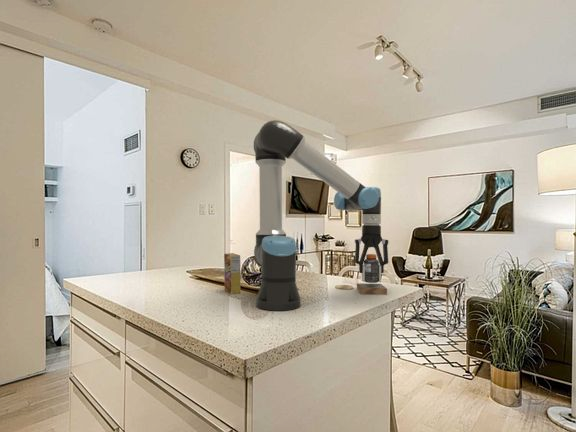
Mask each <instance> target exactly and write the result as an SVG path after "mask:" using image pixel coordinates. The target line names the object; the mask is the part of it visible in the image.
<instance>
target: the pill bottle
mask: <svg viewBox="0 0 576 432" xmlns="http://www.w3.org/2000/svg"><path fill="white" fill-rule="evenodd" d="M363 265H365V282H364V283H366V284H378V283H380V282H379V265H380V263H379V260H378V258H377V254H375V253H374V254H373V253H369V254H368V253H366V256H365V260H364V263H363Z"/></svg>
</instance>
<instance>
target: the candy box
mask: <svg viewBox="0 0 576 432" xmlns="http://www.w3.org/2000/svg"><path fill="white" fill-rule="evenodd" d="M223 257H224V258H223V259H224V260H223V261H224V266H223V267H224V290H225V291H226V292H228V293H229V294H230V295H235V294H237V295H238V294H241V255H240V254H236V253H233V252H232V253H230V252H228V253H224V255H223Z"/></svg>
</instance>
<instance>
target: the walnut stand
mask: <svg viewBox="0 0 576 432" xmlns="http://www.w3.org/2000/svg"><path fill="white" fill-rule="evenodd" d="M356 290H357V291H358V292H359V293H360V295H377V296H378V295H381V296H384V295H385V296H387V295H388V288H387V287H386V286H385V285H383V284H381V283H367V282H362V283H356Z"/></svg>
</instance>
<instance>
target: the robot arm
mask: <svg viewBox="0 0 576 432" xmlns="http://www.w3.org/2000/svg"><path fill="white" fill-rule="evenodd" d="M253 150H254V154H255V155H254V156H255V157H254V158H255V159H254V160H255V161H254V162H255V164H256V165H257V166H258V168H259V171H258V172H259V174H258V175H259V229H258V231H256V233H255V245H254V250H253V254H254V258H255V261H256V262H257V263H258V264H259V265H260V266H261V283H260V286H259V290H258V293H257V296H256V301H255V302H256V303H255V305H256V307H257V308H259V309H262V310H267V311H275V312H276V311H277V312H278V311H279V312H281V311H290V310H291V311H292V310H295V309H299V308H300V307H301V305H302V304H301V296H300V291H299V289H298V287H297V280H296V279H297V278H296V277H297V272H296V271H297V270H296V269H297V268H296V267H297V241H296V240H295V238H294V237H291V236H287V232H286V231H284V229H283V173H282V172H283V166H285V164H286V162H287V161H286V159H290V160H291V159H292V160H294V161H295V162H296V163H298V164H299V165H300V166H302V167H303V168H304V169H306V170H307V171H309V172H311V174H313V175H314V176H315V177H316V178H318V179H319V180H321V181H322V182H324V183H325V184H326V185H327V186H329V187H331V189H332V190H334V191H336V192H335V194H334V197H333V204H334V207H335V209H336V210H337V211H339V210H340V211H361V215H362V216H361V217H362V218H361V219H362V221H361V223H362V224H363V225H362V226H361V237H360V238H358V239H356V238H355V239H354V243H355V251H354V252H355V253H354V263H355V264H356V265H358V269H359V270H358V272H359V274H361V281H362V283H366V282H365V265H364V260H366V255H367V254H368V250H369V248H374V250H375V253H376V254H375V255H376V258H377V260H378V261H379V282H378V283H382V274H383V273H384V269H385V265H388V264H389V251H388V249H389V248H388V245H389V240H388V239H385V238H383V237H382V235H381V234H382V226H381V223H382V194H381V193H382V192H381V188H379V187H377V186H371V187H370V186H365V185H363V184H362V182H361V183H360V182H359V181H358V180H357V179H355V177H353V176H352V175H351V174H349V173H348V172H347V171H345V170H344V169H343V168H341V167H339V165H337V164H336V163H335V162H334V161H332V160H330V158H328V157H327V156H326V155H324V154H323V153H321V152H320V151H319V150H318V149H316V148H315V147H314V146H312V145H311V144H310V143H309V142H307V141H306V138H305V136H304V135H303V134H302V133H301V132H299V131H298V130H297V129H295V128H294V127H293V126H291V125H289V124H288V123H286V122H284V121H282V120H277V119H274V120H269V121H267V122H265V123H264V124H263V125H262V126H261V128H260V129H259V132H258V133H257V134H256V135H255V137H254V140H253ZM361 243H363V249H362V252H361V255H360V247H361V246H360V245H361ZM380 244H382V251H383V252H382V253H383V256H382V253H381V249H380V246H379V245H380Z"/></svg>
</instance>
